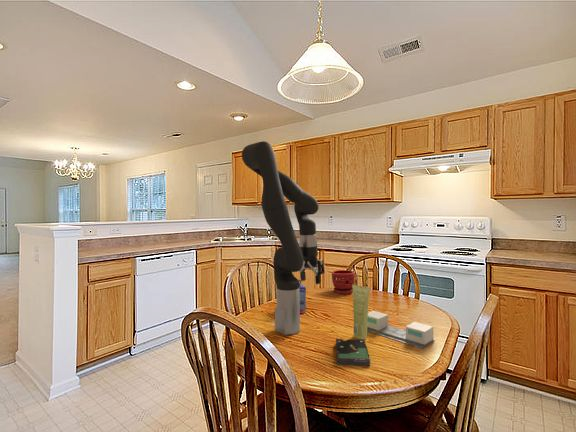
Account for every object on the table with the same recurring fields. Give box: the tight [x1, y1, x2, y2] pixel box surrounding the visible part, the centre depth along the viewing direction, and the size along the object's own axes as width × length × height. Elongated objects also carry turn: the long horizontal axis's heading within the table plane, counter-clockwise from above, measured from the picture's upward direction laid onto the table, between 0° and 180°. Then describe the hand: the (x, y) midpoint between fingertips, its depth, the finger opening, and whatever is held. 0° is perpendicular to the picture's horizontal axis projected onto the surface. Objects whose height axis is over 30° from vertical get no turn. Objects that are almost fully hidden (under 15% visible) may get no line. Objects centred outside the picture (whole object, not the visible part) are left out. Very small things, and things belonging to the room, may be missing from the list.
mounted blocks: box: [367, 310, 434, 345], centre depth 121 cm, size 7×25×4 cm, turn 43°
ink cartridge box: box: [298, 278, 307, 314], centre depth 151 cm, size 10×6×14 cm, turn 15°
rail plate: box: [367, 324, 436, 350], centre depth 121 cm, size 10×25×1 cm, turn 43°
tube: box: [352, 283, 371, 340], centre depth 119 cm, size 6×5×20 cm
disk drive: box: [335, 338, 371, 367], centre depth 105 cm, size 10×3×15 cm
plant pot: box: [331, 269, 356, 295], centre depth 183 cm, size 13×13×12 cm
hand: (310, 282), depth 135 cm, fingers open, 8 cm apart
